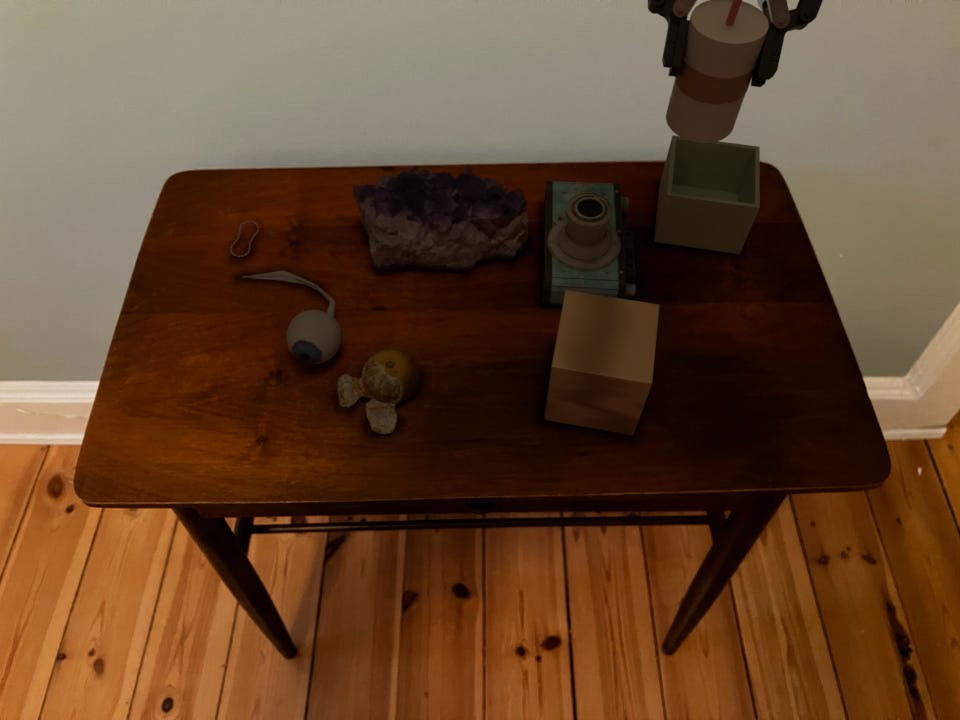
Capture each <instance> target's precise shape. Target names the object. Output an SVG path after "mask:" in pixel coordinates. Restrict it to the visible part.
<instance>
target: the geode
mask: <svg viewBox="0 0 960 720" xmlns="http://www.w3.org/2000/svg"><path fill="white" fill-rule="evenodd" d="M352 194H353V198H354V200H355V202H356V206H357V208H358V210H359V212H360V218H359V220H360V222H361V223H362V226H363V228H364V231H365V233H366V236H368V237H369V238H368V239H369V240H368V244H369V245H370V248H369V252H370V256H371V258H372V261H373V266H374V267H373V268H375V269H376V270H385V271H391V270H396V269H399V268H407V267H413V266H416V267H420V268H423V269H428V270H433V269H436V270H447V271H451V272H452V271H453V272H468V271H470V270H472V269H474V268H475V267H476V266H477V265H478V263H479V262H483V261H487V260H488V261H489V260H492V259H499V260H500V259H501V260H506V261H515V260H516V258H517V257H518V256H519V255H520V254H521V253H523V251H524V250H526V248H527V243H528V241H529V230H528V228H529V225H528V224H529V222H530V220H529V217H528V216H529V215H528V212H527V205H528V204H527V200H526V198H525V193H524V191H523V189H521V188H517V189H513V190H510V191H508V189H507V188H504V185H503V184H502V183H500V182H497V181H495V180H493V179H491V178H490V177H485V178H483V177H481V176H478V175H477V174H474V173H473V168H472V167H471V166H466V167H465V168H464V170H463V171H462V172H461V173H459V174H458V175H457V176H456V177H454V176H453V175H452V174H451V173H450V172H449V171H447V172H446V170H445V171H441V172H437V171H431V170H428V169H421V170H419V168H418V167H417V166H416V165H415V166H413V167H412V168H410V169H408V170H405V171H400V173H398V174H397V175H384V176H380V177H379V178H378V179H377V182H376V183H375V184H354V185H353V187H352Z"/></svg>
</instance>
